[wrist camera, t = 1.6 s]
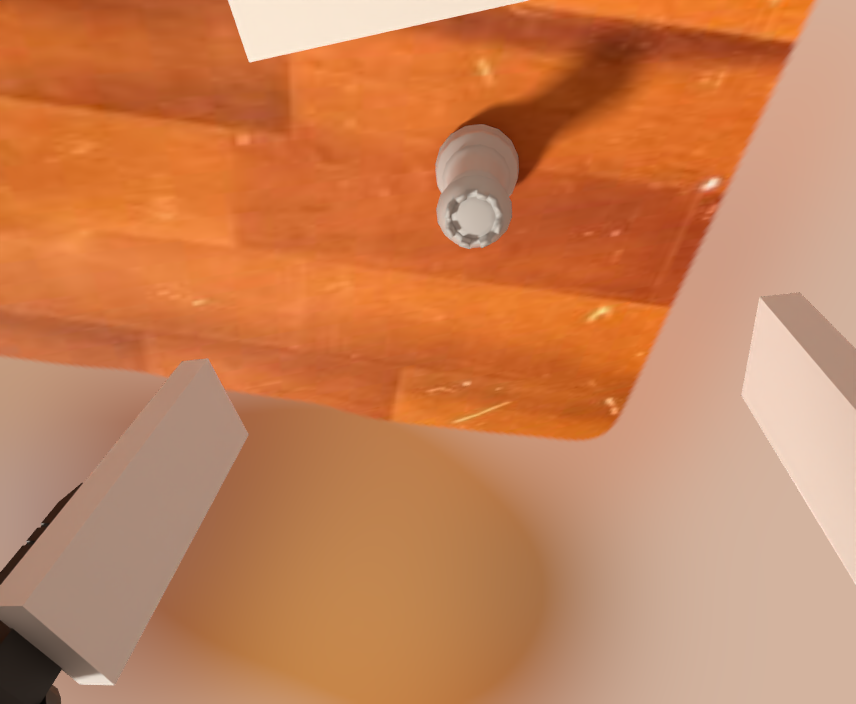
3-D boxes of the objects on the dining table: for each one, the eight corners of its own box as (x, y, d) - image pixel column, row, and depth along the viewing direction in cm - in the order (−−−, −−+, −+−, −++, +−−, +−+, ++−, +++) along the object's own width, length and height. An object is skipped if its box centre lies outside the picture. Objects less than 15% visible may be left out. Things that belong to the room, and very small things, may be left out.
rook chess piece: (460, 105, 27) (451, 145, 20) (535, 148, 27) (549, 200, 21) (422, 182, 29) (403, 240, 23) (491, 219, 30) (492, 285, 23)
